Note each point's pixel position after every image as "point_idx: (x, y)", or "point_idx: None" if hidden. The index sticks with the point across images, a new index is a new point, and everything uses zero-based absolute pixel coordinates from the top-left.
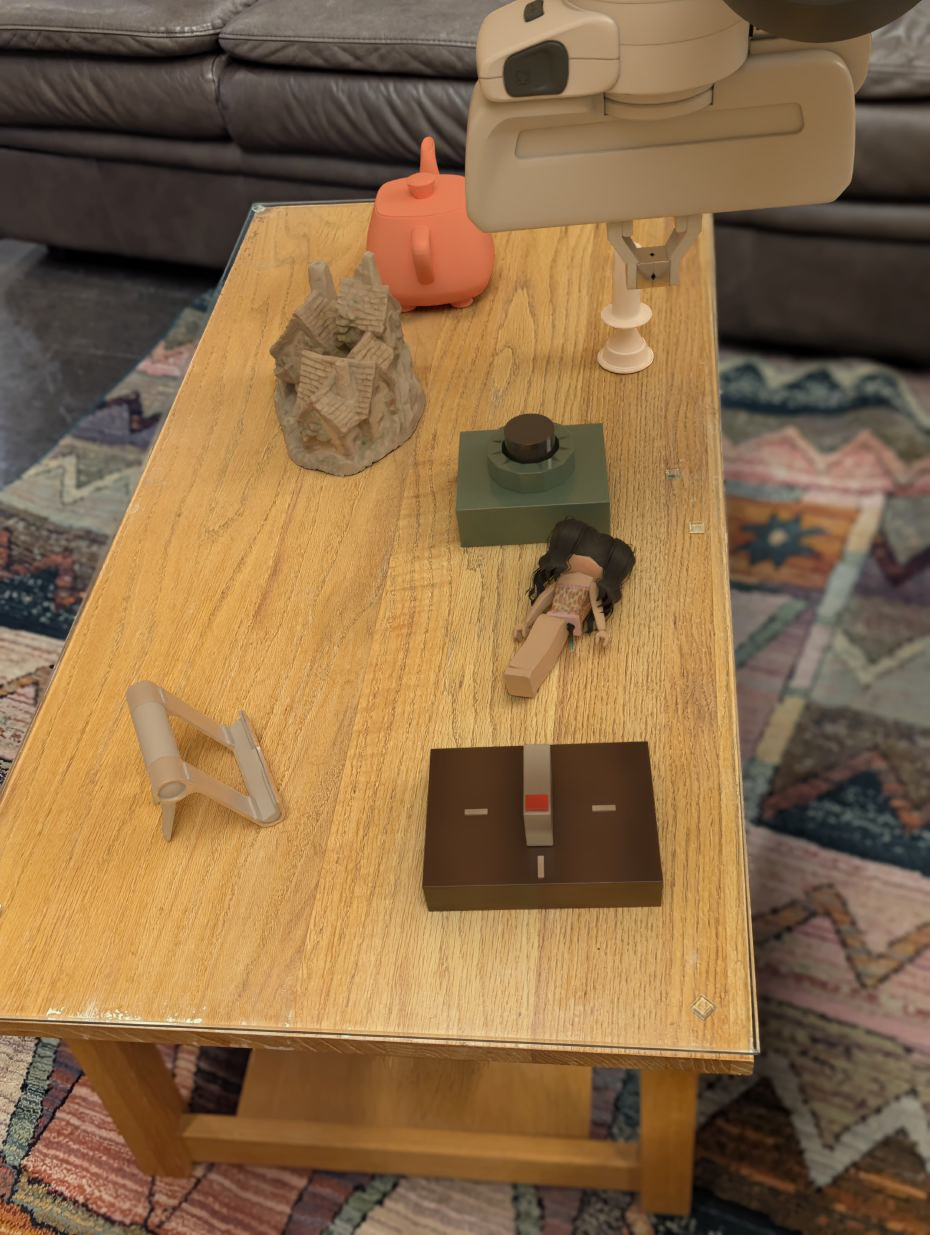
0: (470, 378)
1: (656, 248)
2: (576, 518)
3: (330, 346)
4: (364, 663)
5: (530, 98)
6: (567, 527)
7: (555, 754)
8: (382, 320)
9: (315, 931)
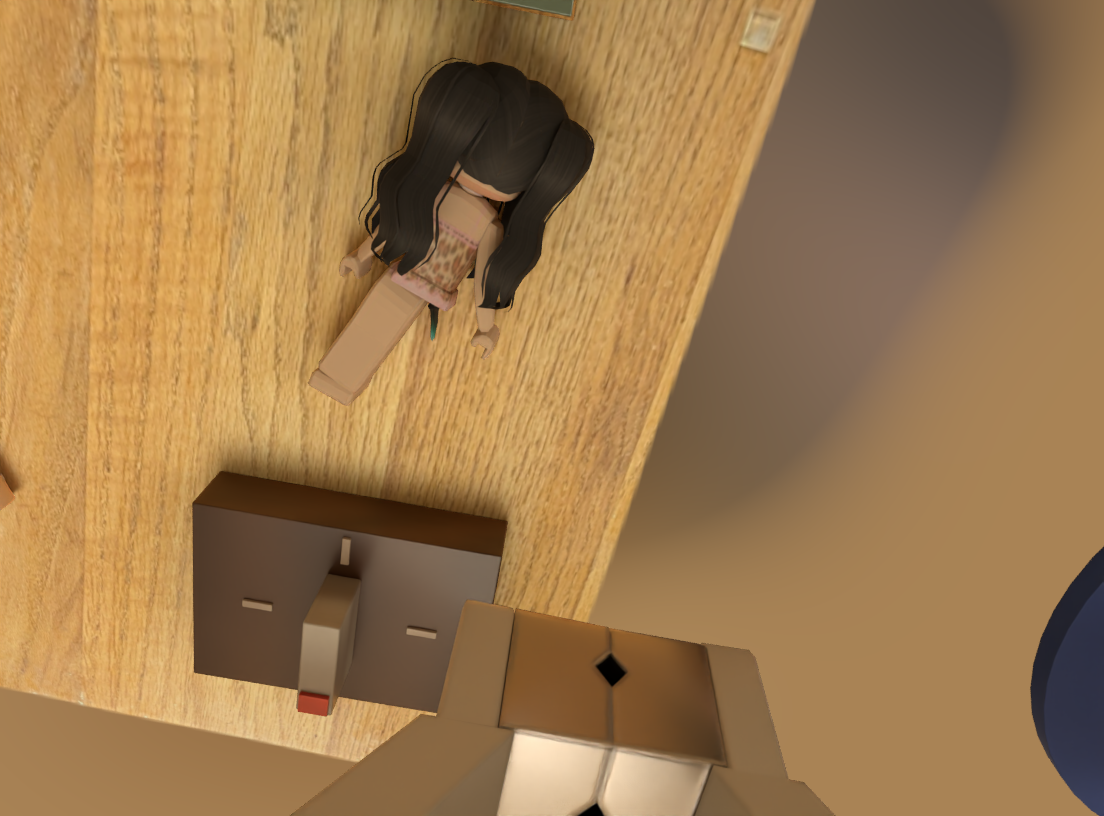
0: None
1: (641, 774)
2: (496, 3)
3: None
4: (86, 240)
5: None
6: (451, 111)
7: (370, 549)
8: None
9: (91, 626)
